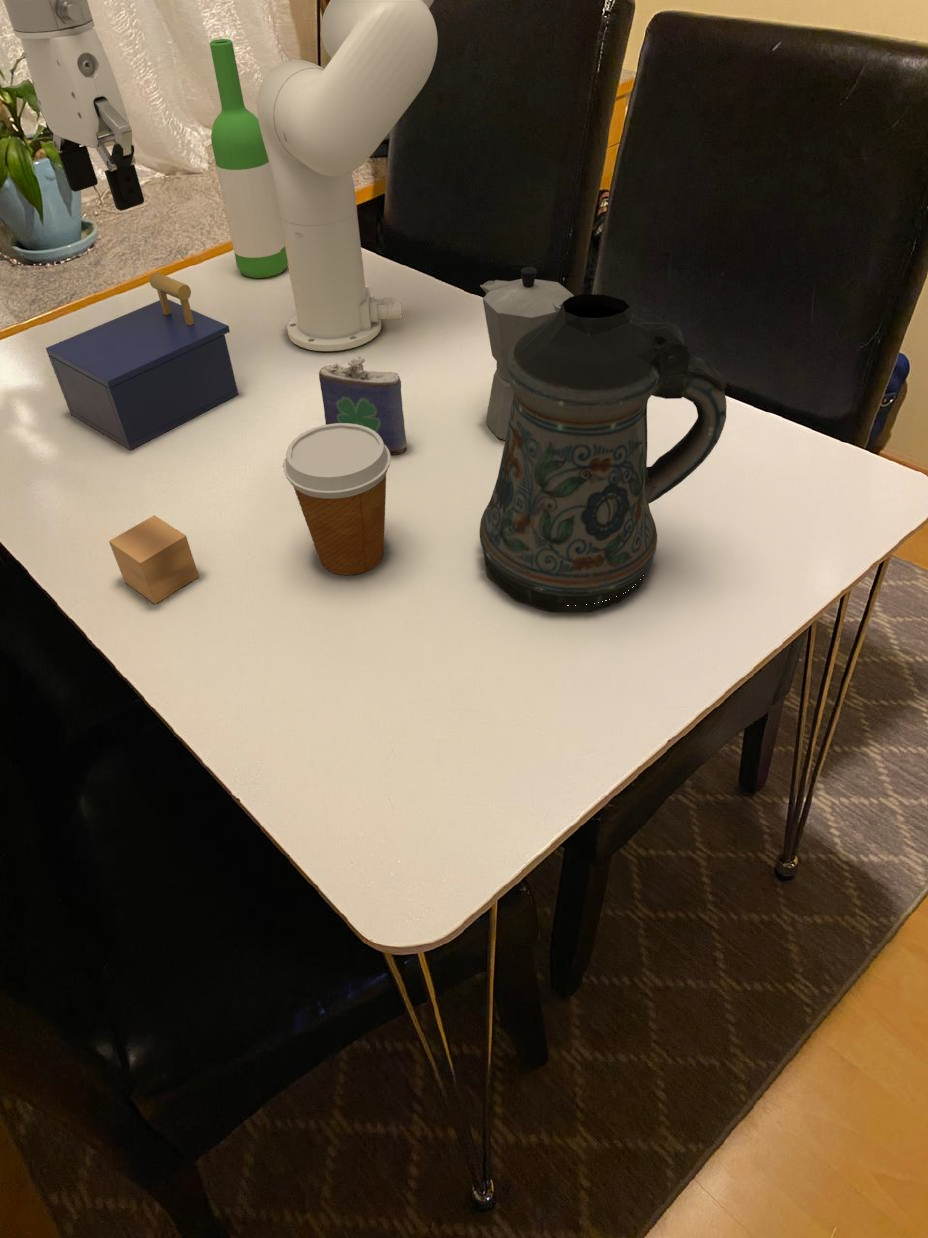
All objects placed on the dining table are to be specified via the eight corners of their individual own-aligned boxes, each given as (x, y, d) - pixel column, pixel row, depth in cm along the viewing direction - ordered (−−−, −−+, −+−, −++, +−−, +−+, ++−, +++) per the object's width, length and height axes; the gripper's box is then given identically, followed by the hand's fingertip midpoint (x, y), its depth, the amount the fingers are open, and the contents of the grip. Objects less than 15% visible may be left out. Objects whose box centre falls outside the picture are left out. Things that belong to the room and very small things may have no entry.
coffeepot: (456, 419, 104) (449, 265, 92) (511, 388, 109) (511, 237, 96) (558, 470, 96) (566, 308, 84) (612, 434, 101) (627, 276, 88)
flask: (409, 444, 101) (401, 356, 93) (401, 458, 99) (392, 369, 91) (333, 434, 103) (319, 347, 95) (323, 448, 101) (308, 361, 93)
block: (168, 555, 88) (154, 514, 84) (199, 576, 85) (186, 535, 82) (124, 582, 85) (108, 541, 82) (155, 604, 83) (140, 563, 79)
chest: (177, 364, 116) (161, 306, 111) (238, 394, 110) (224, 334, 105) (70, 414, 108) (47, 354, 103) (130, 450, 102) (109, 388, 96)
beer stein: (455, 529, 89) (443, 282, 72) (629, 484, 94) (657, 242, 77) (521, 637, 78) (525, 376, 61) (715, 580, 83) (770, 321, 65)
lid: (166, 303, 111) (154, 258, 107) (230, 331, 105) (219, 285, 101) (47, 354, 103) (29, 307, 99) (109, 388, 96) (92, 339, 93)
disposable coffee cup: (304, 528, 90) (283, 424, 82) (399, 520, 91) (388, 416, 82) (300, 591, 83) (277, 484, 75) (402, 582, 84) (390, 475, 75)
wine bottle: (296, 260, 139) (260, 34, 119) (278, 281, 134) (236, 48, 113) (250, 257, 141) (206, 33, 120) (230, 278, 135) (179, 47, 115)
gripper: (131, 14, 84) (180, 203, 96) (42, -4, 93) (97, 171, 105) (58, 30, 81) (118, 225, 93) (-27, 10, 90) (38, 190, 101)
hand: (107, 196), depth 99 cm, fingers open, 9 cm apart
